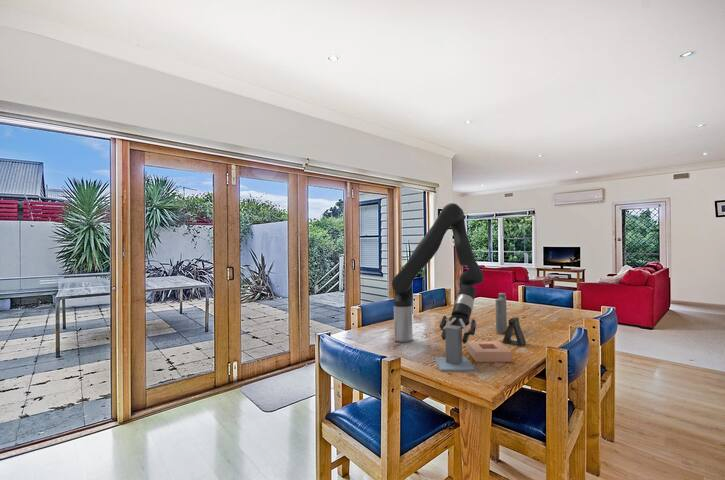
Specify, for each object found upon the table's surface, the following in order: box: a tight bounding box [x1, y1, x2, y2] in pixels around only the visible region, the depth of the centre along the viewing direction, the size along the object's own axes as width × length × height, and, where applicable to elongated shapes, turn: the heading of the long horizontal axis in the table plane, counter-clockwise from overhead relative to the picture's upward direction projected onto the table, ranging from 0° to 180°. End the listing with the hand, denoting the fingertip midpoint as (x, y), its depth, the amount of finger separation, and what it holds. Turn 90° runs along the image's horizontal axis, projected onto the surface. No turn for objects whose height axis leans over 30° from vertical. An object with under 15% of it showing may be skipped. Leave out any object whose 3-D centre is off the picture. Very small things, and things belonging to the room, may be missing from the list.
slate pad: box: [434, 356, 476, 372], centre depth 138 cm, size 13×13×1 cm
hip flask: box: [495, 292, 508, 335], centre depth 186 cm, size 16×4×20 cm, turn 149°
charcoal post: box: [445, 325, 463, 365], centre depth 139 cm, size 5×5×14 cm
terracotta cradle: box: [466, 340, 513, 363], centre depth 147 cm, size 14×14×4 cm
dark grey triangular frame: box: [502, 316, 527, 347], centre depth 164 cm, size 9×6×12 cm, turn 48°
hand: (453, 340), depth 139 cm, fingers open, 8 cm apart
